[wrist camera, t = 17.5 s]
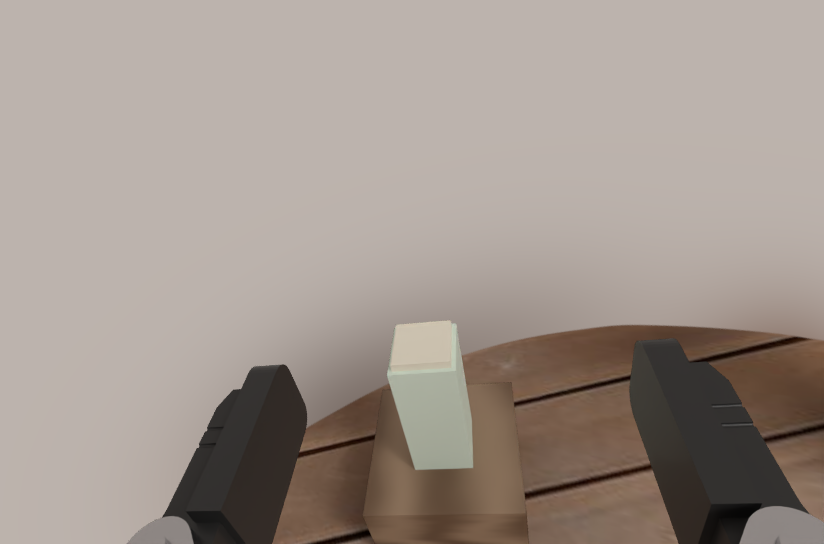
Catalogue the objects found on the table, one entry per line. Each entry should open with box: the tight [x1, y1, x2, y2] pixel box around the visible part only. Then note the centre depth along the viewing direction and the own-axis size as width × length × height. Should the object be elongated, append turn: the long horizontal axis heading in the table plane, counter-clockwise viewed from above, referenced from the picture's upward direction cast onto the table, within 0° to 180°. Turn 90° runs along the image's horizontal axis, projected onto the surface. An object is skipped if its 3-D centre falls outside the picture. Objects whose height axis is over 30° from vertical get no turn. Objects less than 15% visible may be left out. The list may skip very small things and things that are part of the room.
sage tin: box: [387, 320, 473, 470], centre depth 37 cm, size 5×5×12 cm
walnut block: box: [363, 382, 529, 544], centre depth 42 cm, size 12×12×6 cm
